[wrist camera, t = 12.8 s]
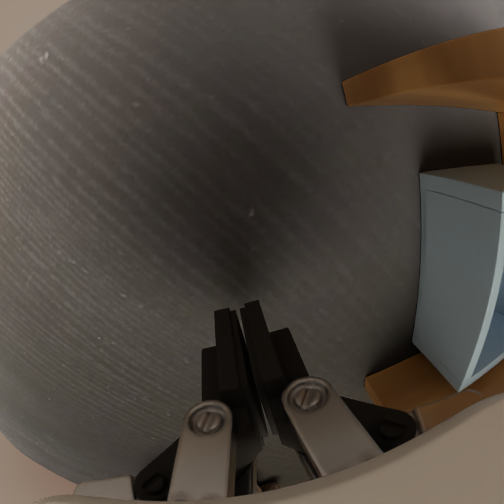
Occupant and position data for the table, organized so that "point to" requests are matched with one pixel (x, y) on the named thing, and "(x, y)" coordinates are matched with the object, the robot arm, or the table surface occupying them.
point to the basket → (461, 271)
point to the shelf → (434, 94)
